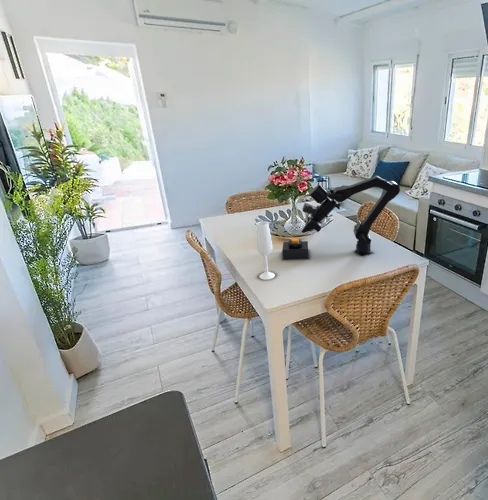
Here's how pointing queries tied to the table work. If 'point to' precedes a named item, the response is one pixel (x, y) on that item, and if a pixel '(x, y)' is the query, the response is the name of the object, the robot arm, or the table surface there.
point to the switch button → (295, 240)
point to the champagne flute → (264, 246)
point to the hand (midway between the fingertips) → (302, 232)
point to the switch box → (295, 250)
